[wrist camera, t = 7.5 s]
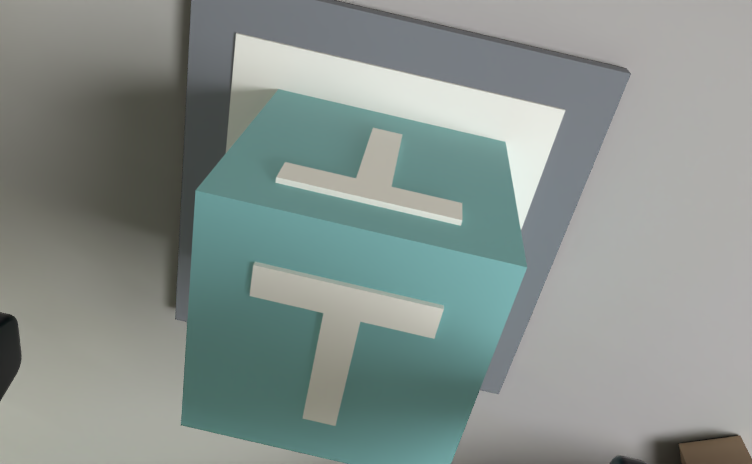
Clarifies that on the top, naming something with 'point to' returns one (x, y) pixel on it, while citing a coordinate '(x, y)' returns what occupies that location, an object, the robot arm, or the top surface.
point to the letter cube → (349, 283)
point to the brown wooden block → (715, 451)
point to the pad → (403, 108)
